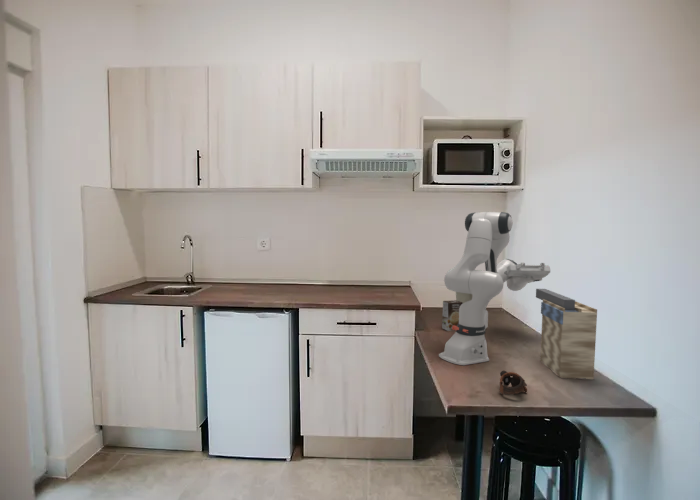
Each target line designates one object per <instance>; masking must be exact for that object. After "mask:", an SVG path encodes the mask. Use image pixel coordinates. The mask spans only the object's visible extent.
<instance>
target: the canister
mask: <svg viewBox="0 0 700 500" xmlns="http://www.w3.org/2000/svg"><path fill="white" fill-rule="evenodd" d="M455 300H457V301H460V302H463V303H465V302H467V301H470V300H472V294H468V293H459V292H455Z"/></svg>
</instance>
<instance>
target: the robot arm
mask: <svg viewBox="0 0 700 500" xmlns="http://www.w3.org/2000/svg"><path fill="white" fill-rule="evenodd" d="M513 222H514V221H513V218H512V215H510V213H508V212H505V211H501V212H500V211H482V212H480V211H479V212H471V213H469V214H467V216H466V217H465V219H464V228H465V231H467V236H466V242H465V246H464V251H463V255H462V257H461V259H460V260H459V261H458V263H457V264H456V265H455V266H453V267H452V268H451V269H449V270H448V271H447V272H446V273H445V275H444V280H443V281H444V286H445V288H447V289H448V290H449V291H452V292H455V293H456V292H459V293H468V294H472V295H473V296H472V300H470V301H467V302H465V303H463V304H462V305H461V306H460V308H459V323H458V325H457V326H455V325H453V326H452V329H453V330H455V332H454V333H453V335H452V336H451V337H450V338H449V339H448V340H447V341H446V343H445V345H444V351H442V352H440V353H438V357H439V358H440V359H442V360H444V361H446V362H448V363H451V364H454V365H460V366H467V365H472V364H478V363H484V362H489V361H490V358H489V356H488V347H487V346H488V345H487V340H486V337H485V334H486V329H487V328H485V325H484V321H485V311H486V310H487V307H488V304H489V303H490V302H491V300H493V299H494V298H495V297H496V296H498V295H499V294H500V293H501V292H502V291H503V289H504V283H505V282H506V287H507V289H508V290H510V291H513V292H517V291H521V290H522V289H524V287H526V285H528V284H530V283H534V282H541V281H543V279H544V278H545V277H547V276H548V275H550V273H551V267H550V265H549V264H548V265H546V263H545V262H541V263H539V264H526V263H525V262H520V263H518V264H517V262H515V261H514V260H512V259H509V258H504V259H502V260H501V261H499V262H497V260H498V258H499V256H500V254H501V253H502V252H503V251H504V250H505V248H506V247H507V246H508V244H510V237H511V236H510V232H511V230H512V228H513ZM482 264H484V267H485V270H481V269H476V268H477V267H478V266H480V265H482Z"/></svg>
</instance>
